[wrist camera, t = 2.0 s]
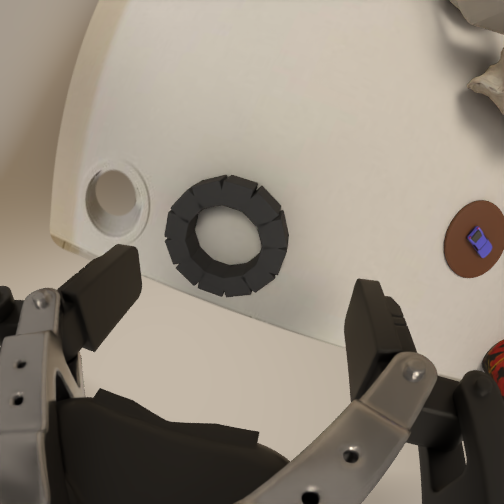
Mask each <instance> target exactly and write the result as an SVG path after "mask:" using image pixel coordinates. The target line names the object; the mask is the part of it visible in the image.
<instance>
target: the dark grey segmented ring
mask: <svg viewBox="0 0 504 504" xmlns="http://www.w3.org/2000/svg"><path fill="white" fill-rule="evenodd" d="M257 186H258V183H256V182H253V181H250V180H247V179H243V178H240V177H237V176H234V175H231V176H230V177H227V175H223V176H219V177H214V178H210V179H206V180H202V181H201V182H199V183H197V184H195V185H194V186H192V187H191V188H189V189H188V190H187V191H186V192H185V193H184V194H183V195H182V196H181V197H180V198H179V199H178V200H177V201H176V202H175V203H174V205H173V206H172V207H171V211H170V212H169V213H168V218H167V224H166V230H165V237H167V239H166V240H165V243H166V245H167V248H168V251H169V254H170V256H171V259H172V262H173V264H178V266H177V267H176V269H177V270H178V271H179V272H180V273H181V274H182V275H183V276H184V277H185V278H186V279H187V280H188V281H189V282H191V283H192V284H193V285H194V286H195V285H196V284H197V283H198V282H199V285H198V288H199V289H201V290H204V291H207V292H210V293H213V294H215V295H218V296H221V297H222V296H223V294H224V292H225V295H226V297H233V296H242V295H250V294H251V293H252V290H253V291H254V292H257V291H258V290H260V289H261V288H262V287H264V286H265V285H267V284H268V283H269V282H271V281H272V280H274V279H275V275H278V273H279V271H280V268H281V265H282V263H283V260H284V258H285V255H286V252H287V246H288V237H289V234H288V229H287V225H286V220H285V215H284V211H283V210H281V211H280V209H281V205H280V204H279V203H278V202H277V201H276V200H275V199H274V198H273V197H272V196H271V194H270V193H269V192H268V191H267V190H266V189H265V188H264V187H263V186H261V187H260V188H259V189H258V190H256V189H257ZM219 205H224V206H227V207H230V208H233V209H236V210H239V211H242V212H243V213H244V214H245V215H246V216H247V217H248V218H249V219H250V220H251V221H252V222H253V223H254V224H255V225H256V226H257V228H258V232H259V236H260V240H261V244H262V249H261V252H260V253H259V254H258V255H257V256H255V257H254V258H253V259H252V260H250V261H249V262H248V263H244V264H237V265H227V264H224V263H221V262H218V261H215V260H213V259H212V258H211V257H210V256H209V255H208V254H207V253H206V252H205V251H204V250H203V249H202V248H201V247H200V246H199V243H198V239H197V236H196V233H195V226H196V222H197V217H198V213H199V212H200V211H202V210H203V209H205V208H210V207H215V206H219Z"/></svg>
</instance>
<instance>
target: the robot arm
mask: <svg viewBox="0 0 504 504" xmlns="http://www.w3.org/2000/svg"><path fill="white" fill-rule="evenodd" d="M141 289H142V280H141V272H140V263H139V254H138V250H137V248H136V247H134V246H128V245H121V244H117V245H115V246H114V247H112V248H111V249H110V250H109V251H107V252H106V253H105V254H104V255H102V256H100V257H98V258H96V259H93V260H92V261H91V262H90V263H89V264H87V265H86V266H85V268H82V269H81V270H80V271H79V273H76V274H75V275H74V276H73V277H72V278H70V279H69V280H68V281H67V282H66V283H64V284H63V285H62V286H61V287H60V288H58V290H55V289H53V288H43V289H39V290H36V291H34V292H32V293H31V294H29V295H28V296H27V297H26V299H25V300H14V298H13V295H12V293H11V290H10V288H8V287H6V286H0V346H1V347H0V504H361V503H362V502H363V501H364V499H365V498H366V497H367V496H368V494H369V493H370V492H371V491H372V490H373V488H374V487H375V486H376V484H377V483H378V482H379V481H380V479H381V478H382V476H383V475H384V474H385V472H386V471H387V469H388V468H389V467H390V465H391V464H392V462H393V461H394V459H395V458H396V457H397V455H398V453H399V452H400V450H401V449H402V447H403V446H404V444H405V443H406V442H407V443H411V444H415V445H418V449H419V458H420V471H421V487H422V504H504V400H503V397H502V395H501V392H500V390H499V387H498V385H497V383H496V382H495V380H494V379H493V378H492V377H491V376H489V375H488V374H486V373H484V372H482V371H477V370H473V371H469V372H467V373H466V374H465V375H464V377H463V378H462V380H461V381H460V382H458V381H454V380H451V379H447V378H443V377H440V376H438V375H437V370H436V368H435V366H434V365H433V363H432V362H431V361H430V360H429V359H428V358H426V357H425V356H423V355H421V354H418V353H417V351H416V348H415V345H414V342H413V340H412V337H411V334H410V332H409V329H408V326H406V325H407V324H406V321H405V318H403V313H402V311H401V308H400V306H399V305H398V304H397V303H396V302H395V301H394V300H393V299H392V298H391V297H388V296H384V293H383V291H382V288H381V285H380V283H379V281H374V280H366V279H357V281H356V283H355V286H354V290H353V293H352V297H351V301H350V304H349V307H348V311H347V314H346V318H345V325H344V334H345V343H346V352H347V362H348V372H349V383H350V396H351V403H350V404H349V406H348V407H347V408H346V409H345V410H344V411H343V412H342V413H341V414H340V415H339V416H338V417H337V418H336V419H335V420H334V421H333V422H332V423H331V424H330V425H329V426H328V427H327V428H326V429H325V430H324V431H323V432H322V433H321V434H320V435H319V436H318V437H317V438H316V439H315V440H314V441H313V442H312V443H311V444H310V445H309V446H307V447H306V448H305V449H304V450H303V451H302V452H301V453H300V454H299V455H298V456H296V457H295V458H294V459H293V460H292V461H291V462H290V461H289V460H288V459H286V458H285V457H284V456H282V455H281V454H279V453H278V452H276V451H274V450H272V449H270V448H268V447H266V446H264V445H261V444H259V443H257V441H258V436H259V432H258V431H251V430H246V429H240V428H234V427H229V426H224V425H220V424H208V423H205V424H204V423H180V422H169V421H166V420H164V419H163V418H161V417H159V416H157V415H156V414H154V413H152V412H151V411H149V410H147V409H146V408H144V407H142V406H141V405H139V404H138V403H136V402H135V401H133V400H130V399H127V398H124V397H122V396H119V395H116V394H114V393H111V392H109V391H106V390H103V389H101V388H100V389H99V390H98V392H97V393H96V395H95V396H94V398H91V397H85V390H84V381H83V371H82V360H81V359H82V358H81V355H80V352H79V351H80V349H81V348H82V347H83V348H85V349H88V350H91V351H93V352H95V351H96V350H97V348H98V347H99V346H100V345H101V343H102V342H103V341H104V339H105V338H106V337H107V336H108V334H109V333H110V332H111V330H112V329H113V328H114V327H115V326H116V324H117V323H118V322H119V321H120V320H121V318H122V317H123V316H124V315H125V313H126V312H127V311H128V310H129V309H130V307H131V306H132V305H133V304H134V302H135V301H136V300H137V299H138V298H139V296H140V293H141ZM462 441H464V446H465V451H466V456H467V463H465V458H464V451H463V446H462Z"/></svg>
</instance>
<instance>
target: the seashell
mask: <svg viewBox="0 0 504 504" xmlns="http://www.w3.org/2000/svg"><path fill="white" fill-rule="evenodd" d="M467 88H471V89H472V90H473V91H474V92H475V93H483V94H485V95H486V96H489V98H490V99H491V100H492V101H493V102H494V103H495V104H496V106H497V107H498V108H499V110H500V111H501V112H502V114H503V115H504V48H503V49H502V51H501V58H500V60H499V62H498V63H497V64H494V65H491V66H490V67H489V68H488V69H487V71H486V72H485V73H484V74H483V75H481V76H479V77H475V78H473V79H472V80H471V81H470V82H469V83H468V84H467Z"/></svg>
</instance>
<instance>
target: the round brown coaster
mask: <svg viewBox="0 0 504 504" xmlns="http://www.w3.org/2000/svg"><path fill="white" fill-rule="evenodd" d="M503 250H504V216H503V214H502V212H501V211H500V209H499V208H498V207H497V206H496V205H494V204H493V203H491V202H489V201H484V200H479V201H474V202H472V203H469V204H468V205H466V206H465V207H463V208H462V209H461V210H460V211H459V212H458V213H457V215H456V216H455V217H454V218H453V220H452V222H451V223H450V225H449V227H448V230H447V233H446V236H445V242H444V253H445V257H446V261H447V263H448V265H449V266H450V267H451V269H452V270H453V271H454V272H455V273H456V274H458V275H459V276H461V277H465V278H474V277H478V276H480V275H482V274H484V273H486V272H487V271H488V270H490V269H491V268H492V267H493V266H494V264H495V263H496V262H497V261H498V259H499V258H500V256H501V254H502V252H503Z"/></svg>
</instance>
